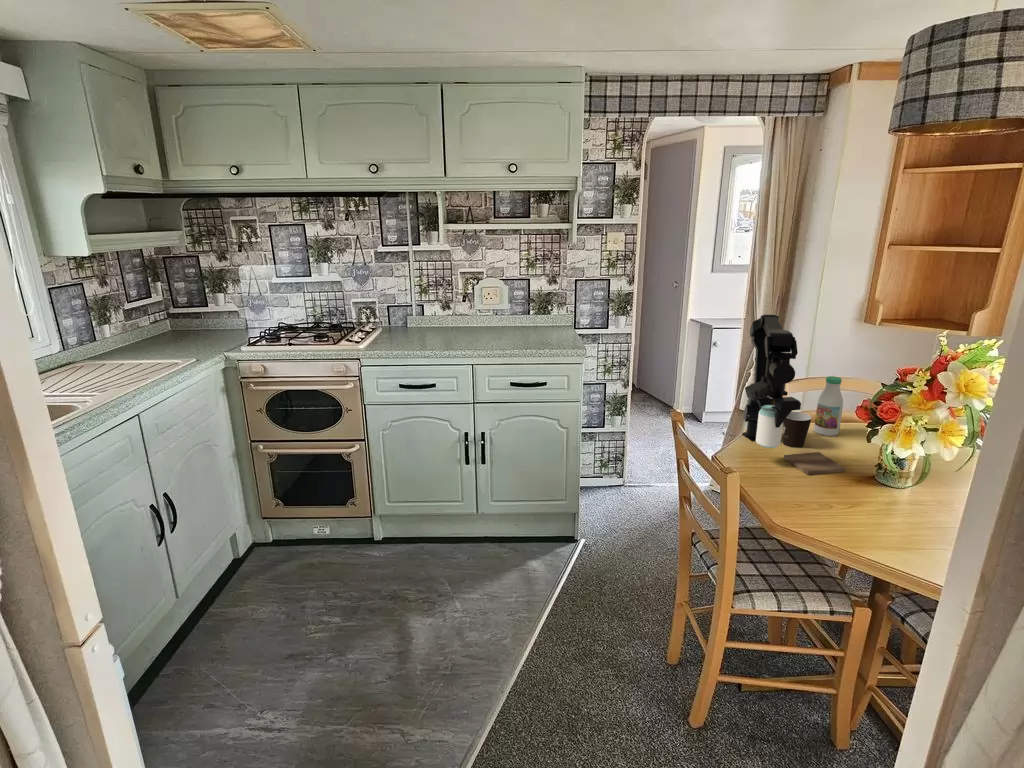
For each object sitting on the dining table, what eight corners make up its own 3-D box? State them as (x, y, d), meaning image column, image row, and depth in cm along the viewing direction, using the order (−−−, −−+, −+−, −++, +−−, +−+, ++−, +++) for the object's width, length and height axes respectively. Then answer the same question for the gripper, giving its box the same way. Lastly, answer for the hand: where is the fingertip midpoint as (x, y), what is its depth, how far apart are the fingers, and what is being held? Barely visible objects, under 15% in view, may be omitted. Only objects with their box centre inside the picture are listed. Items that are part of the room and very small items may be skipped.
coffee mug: (804, 451, 185) (808, 422, 182) (776, 445, 190) (779, 417, 188) (812, 439, 194) (815, 412, 191) (784, 434, 199) (788, 407, 196)
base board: (783, 458, 180) (784, 455, 180) (818, 455, 182) (818, 452, 182) (807, 475, 169) (808, 471, 169) (844, 471, 171) (845, 468, 170)
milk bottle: (819, 426, 205) (827, 373, 199) (842, 432, 200) (850, 377, 194) (809, 432, 201) (817, 377, 195) (832, 438, 195) (841, 382, 189)
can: (783, 444, 177) (788, 407, 173) (774, 451, 172) (779, 413, 169) (761, 438, 182) (765, 402, 178) (751, 444, 177) (755, 408, 173)
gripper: (734, 367, 178) (730, 414, 183) (768, 384, 160) (762, 436, 165) (767, 365, 179) (762, 412, 184) (805, 382, 162) (798, 433, 166)
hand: (770, 423), depth 175 cm, fingers closed on can, 7 cm apart
